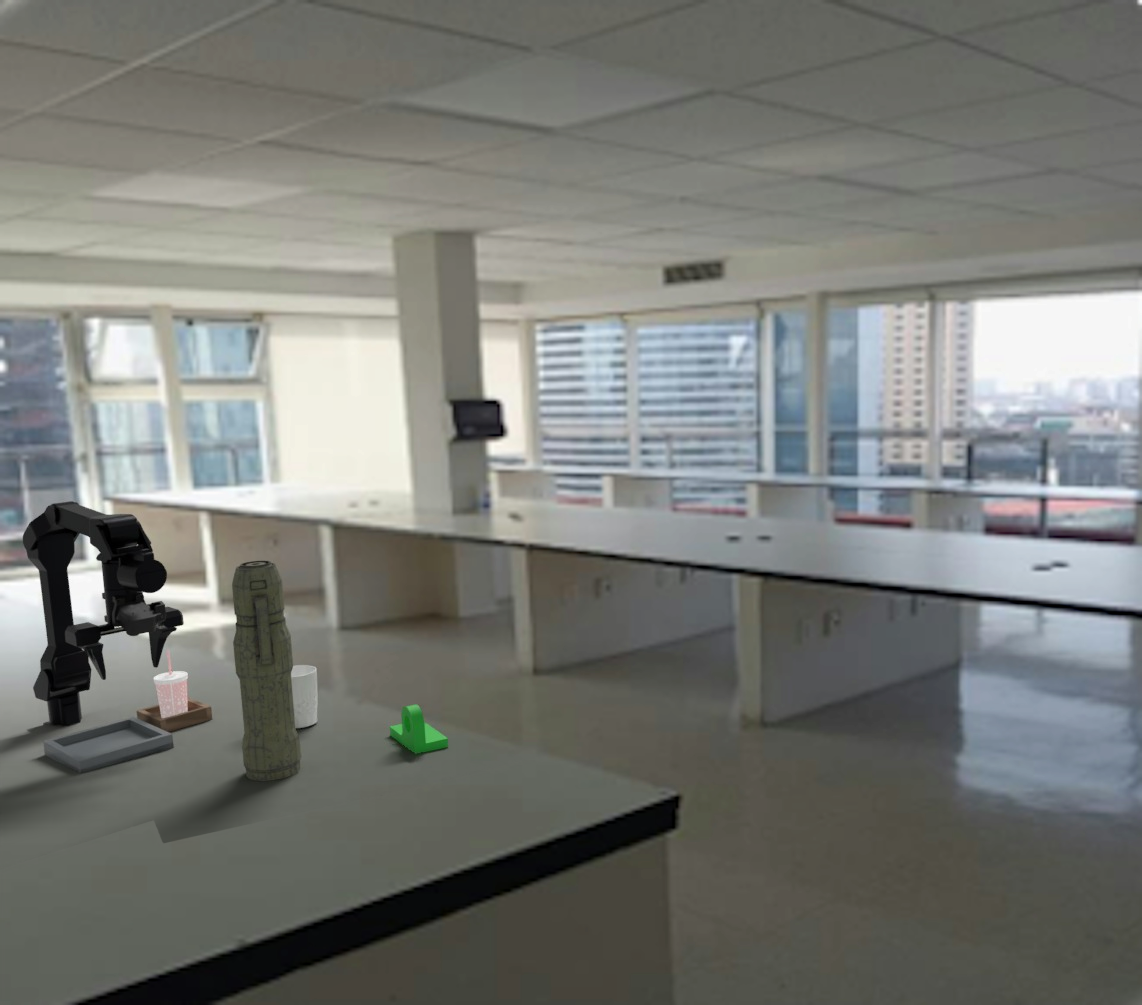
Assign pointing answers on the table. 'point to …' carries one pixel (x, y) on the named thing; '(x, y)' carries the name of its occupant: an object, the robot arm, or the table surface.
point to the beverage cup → (172, 691)
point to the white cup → (304, 695)
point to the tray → (107, 744)
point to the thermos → (264, 673)
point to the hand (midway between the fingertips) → (130, 673)
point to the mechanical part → (417, 732)
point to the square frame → (176, 716)
